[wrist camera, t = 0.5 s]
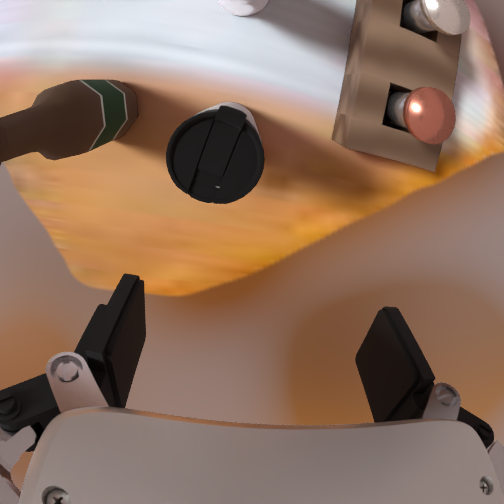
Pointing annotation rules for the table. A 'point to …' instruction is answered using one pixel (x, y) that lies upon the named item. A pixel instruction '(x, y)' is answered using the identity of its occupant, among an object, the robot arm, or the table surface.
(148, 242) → the table surface
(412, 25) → the plug cream
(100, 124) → the beer bottle
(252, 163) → the travel mug
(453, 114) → the plug terracotta
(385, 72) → the socket board
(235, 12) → the beer glass
